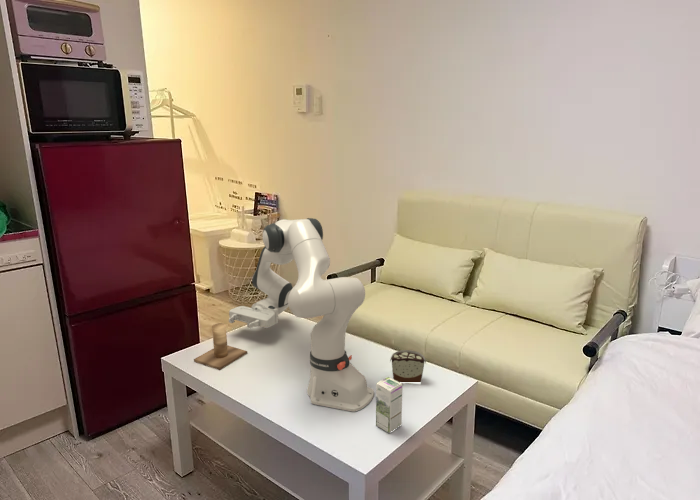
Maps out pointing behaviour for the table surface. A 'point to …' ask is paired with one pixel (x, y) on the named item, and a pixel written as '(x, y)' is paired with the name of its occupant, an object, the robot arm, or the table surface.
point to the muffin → (407, 366)
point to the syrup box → (388, 404)
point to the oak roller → (220, 340)
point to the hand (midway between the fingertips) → (239, 323)
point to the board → (220, 363)
